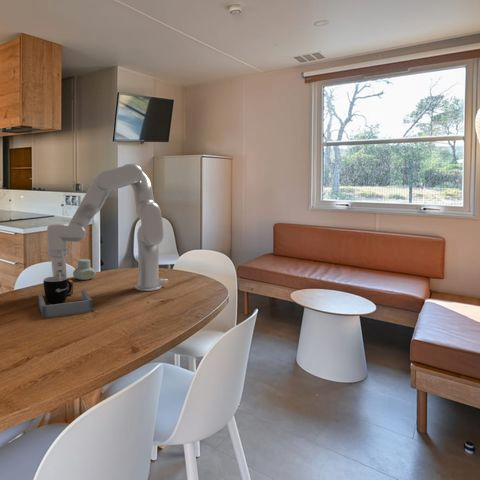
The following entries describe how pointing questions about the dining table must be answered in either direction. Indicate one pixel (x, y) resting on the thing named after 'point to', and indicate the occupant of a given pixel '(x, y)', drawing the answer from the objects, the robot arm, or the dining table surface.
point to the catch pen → (66, 306)
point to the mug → (56, 289)
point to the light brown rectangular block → (71, 287)
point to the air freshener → (84, 270)
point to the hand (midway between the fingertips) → (59, 293)
